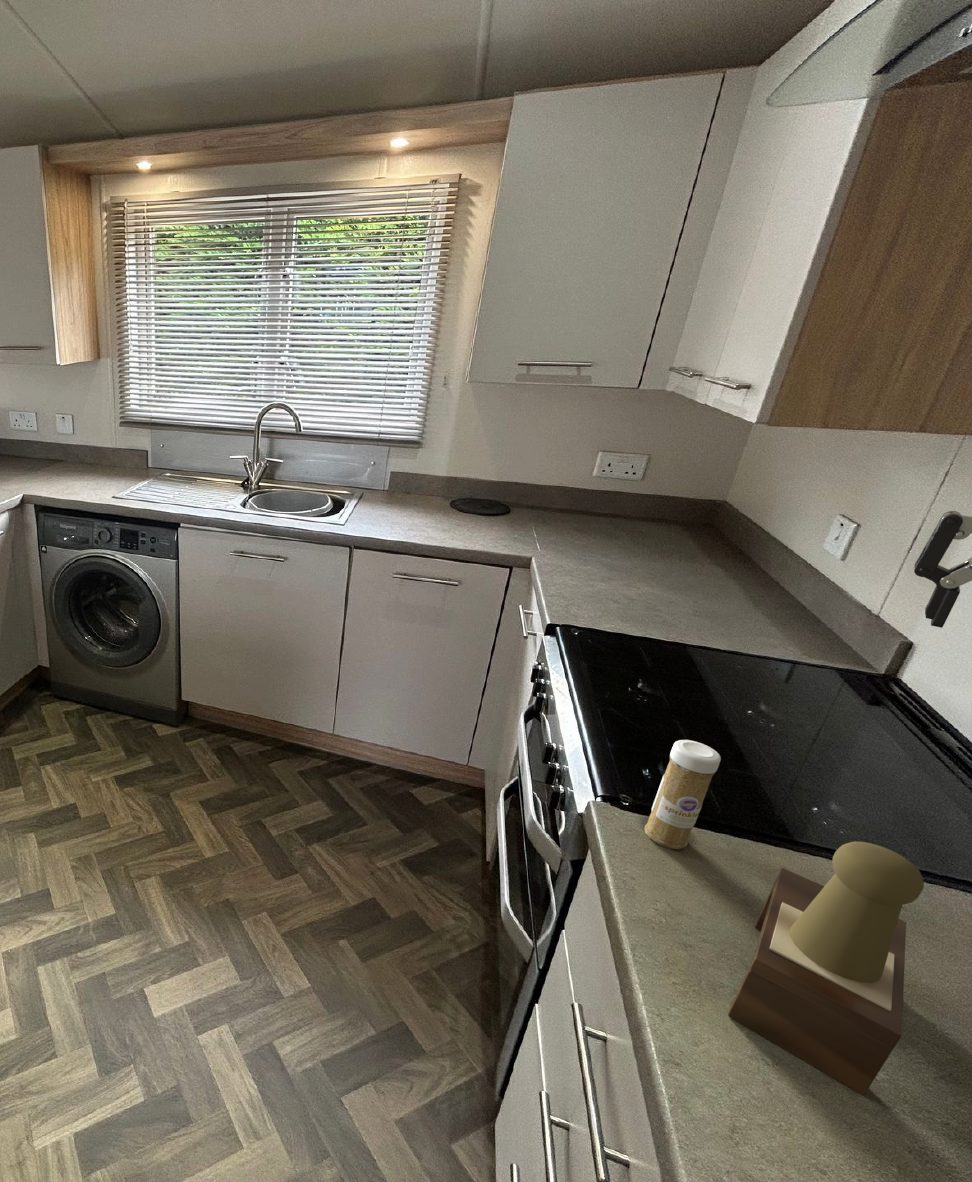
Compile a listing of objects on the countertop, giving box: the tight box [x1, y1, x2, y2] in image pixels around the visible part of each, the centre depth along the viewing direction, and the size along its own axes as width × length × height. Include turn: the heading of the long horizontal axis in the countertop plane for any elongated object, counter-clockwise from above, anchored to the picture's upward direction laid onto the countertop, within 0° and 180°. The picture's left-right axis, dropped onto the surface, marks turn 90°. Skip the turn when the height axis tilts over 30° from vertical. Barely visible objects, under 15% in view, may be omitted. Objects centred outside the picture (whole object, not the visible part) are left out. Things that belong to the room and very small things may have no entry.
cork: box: [789, 840, 925, 983], centre depth 55 cm, size 6×6×11 cm
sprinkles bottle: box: [644, 739, 722, 850], centre depth 78 cm, size 5×5×13 cm
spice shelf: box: [727, 867, 907, 1096], centre depth 59 cm, size 16×9×8 cm, turn 132°
